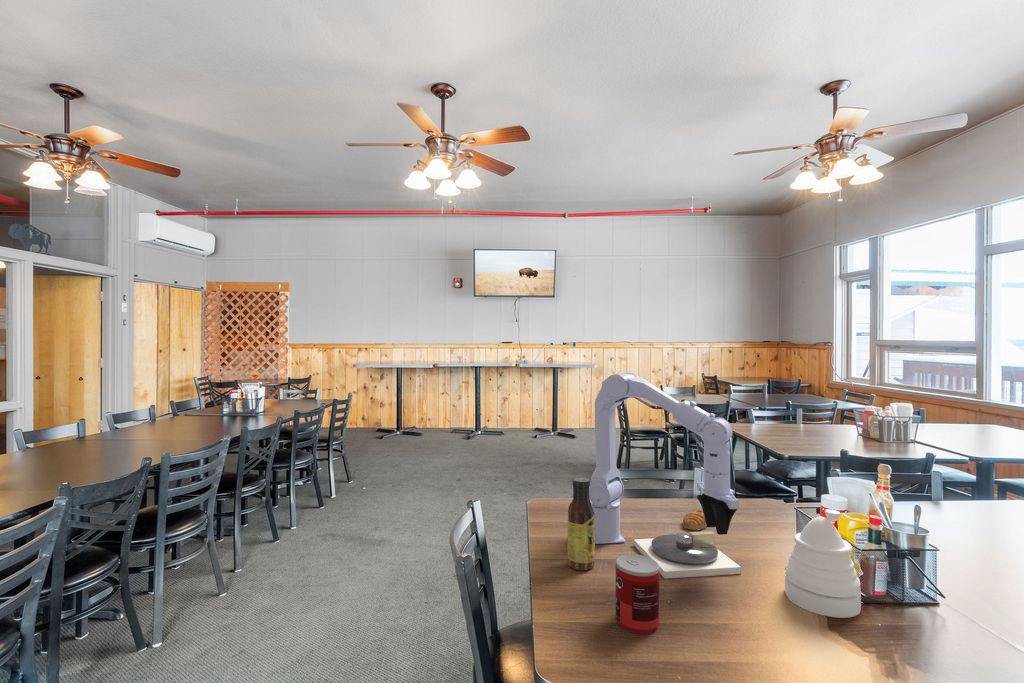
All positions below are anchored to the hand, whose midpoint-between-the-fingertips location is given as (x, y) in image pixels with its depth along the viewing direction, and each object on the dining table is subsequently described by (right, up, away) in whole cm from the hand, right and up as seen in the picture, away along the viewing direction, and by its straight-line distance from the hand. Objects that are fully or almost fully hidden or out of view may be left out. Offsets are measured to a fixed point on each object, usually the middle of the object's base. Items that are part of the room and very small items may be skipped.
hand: (716, 530), depth 114 cm
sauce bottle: (-31, -9, 0) cm, 32 cm away
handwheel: (-6, -6, +4) cm, 10 cm away
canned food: (-24, -8, -23) cm, 34 cm away
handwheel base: (-6, -8, +4) cm, 11 cm away
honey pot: (+15, -9, -15) cm, 23 cm away
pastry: (+5, -9, +26) cm, 28 cm away
